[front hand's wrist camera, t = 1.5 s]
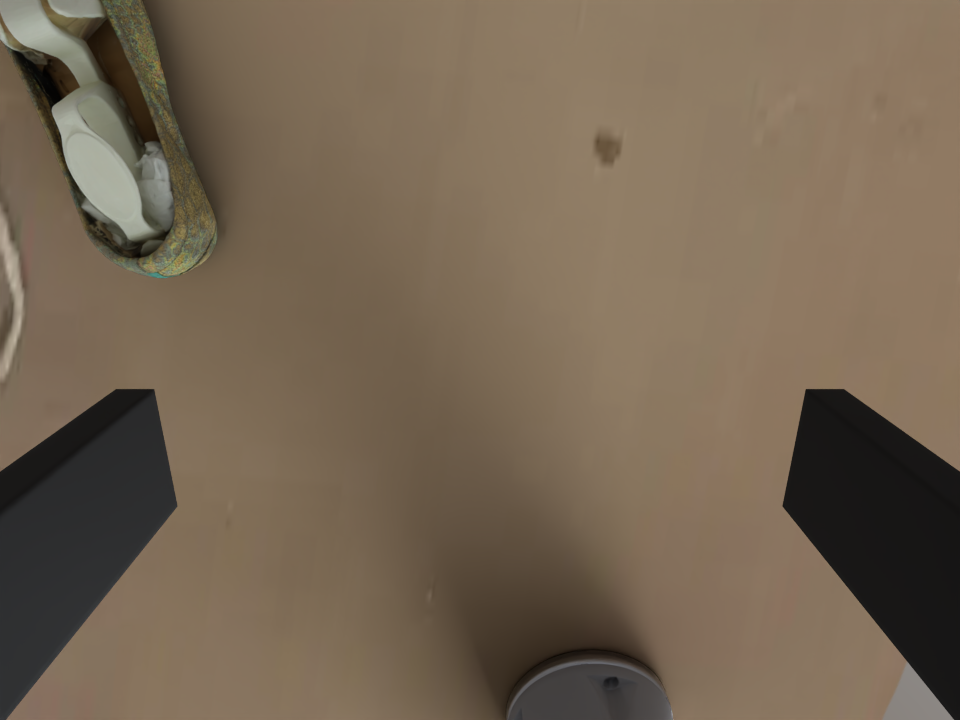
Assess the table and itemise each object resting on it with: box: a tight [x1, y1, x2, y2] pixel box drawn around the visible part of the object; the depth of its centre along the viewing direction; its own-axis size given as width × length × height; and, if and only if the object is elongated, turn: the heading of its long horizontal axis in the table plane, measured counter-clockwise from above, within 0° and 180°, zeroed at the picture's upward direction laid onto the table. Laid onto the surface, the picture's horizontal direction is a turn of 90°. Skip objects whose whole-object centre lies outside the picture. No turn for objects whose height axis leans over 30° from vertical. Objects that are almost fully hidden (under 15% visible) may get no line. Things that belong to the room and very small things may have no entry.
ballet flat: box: [0, 0, 217, 278], centre depth 36 cm, size 8×24×8 cm, turn 16°
